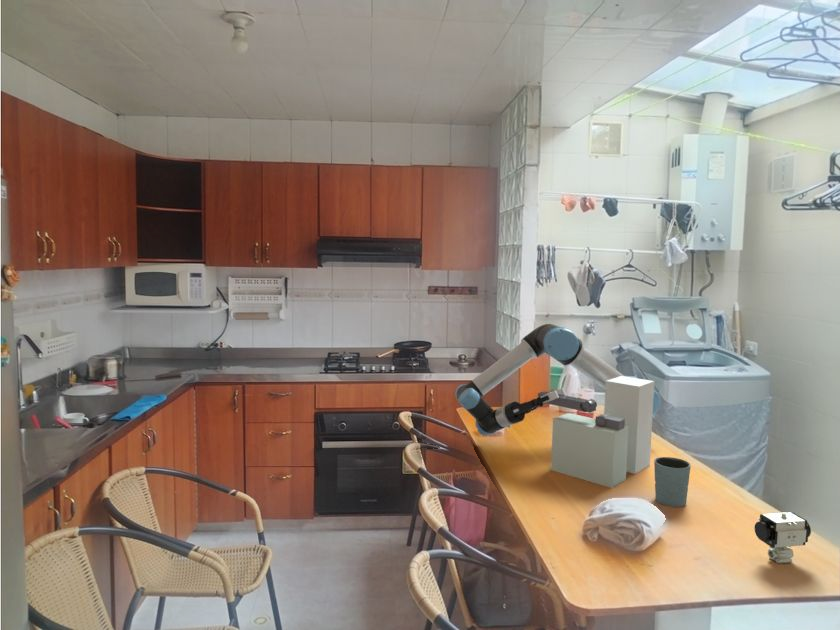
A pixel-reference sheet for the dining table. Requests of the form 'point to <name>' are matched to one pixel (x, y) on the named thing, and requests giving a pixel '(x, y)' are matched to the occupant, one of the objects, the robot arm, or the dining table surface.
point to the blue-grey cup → (671, 481)
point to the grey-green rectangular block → (590, 448)
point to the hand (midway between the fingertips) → (560, 392)
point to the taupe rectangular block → (633, 416)
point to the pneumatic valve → (782, 534)
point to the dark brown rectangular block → (572, 402)
